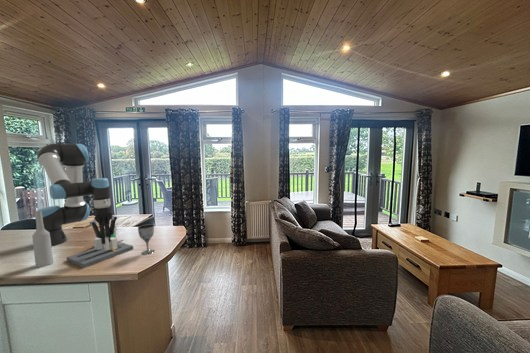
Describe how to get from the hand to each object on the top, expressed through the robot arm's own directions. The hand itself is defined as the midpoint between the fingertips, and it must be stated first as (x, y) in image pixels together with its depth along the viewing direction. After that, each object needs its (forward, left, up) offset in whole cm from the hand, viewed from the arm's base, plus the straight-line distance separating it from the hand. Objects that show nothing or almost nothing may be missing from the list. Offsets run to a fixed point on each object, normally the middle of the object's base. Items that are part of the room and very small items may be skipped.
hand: (106, 248), depth 128 cm
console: (-4, -1, -4) cm, 6 cm away
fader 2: (0, +4, -1) cm, 4 cm away
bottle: (-19, -20, -4) cm, 28 cm away
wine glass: (+17, +13, -4) cm, 22 cm away
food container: (-17, +11, -4) cm, 21 cm away
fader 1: (-8, 0, -1) cm, 8 cm away
